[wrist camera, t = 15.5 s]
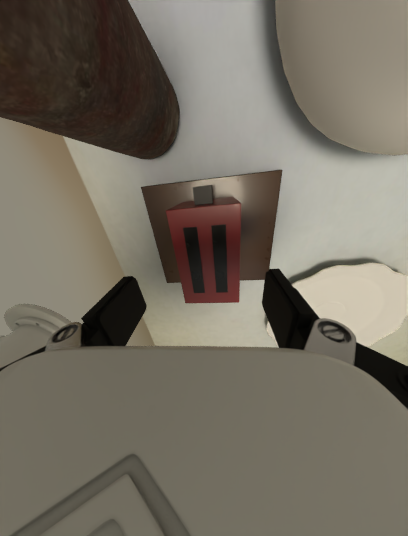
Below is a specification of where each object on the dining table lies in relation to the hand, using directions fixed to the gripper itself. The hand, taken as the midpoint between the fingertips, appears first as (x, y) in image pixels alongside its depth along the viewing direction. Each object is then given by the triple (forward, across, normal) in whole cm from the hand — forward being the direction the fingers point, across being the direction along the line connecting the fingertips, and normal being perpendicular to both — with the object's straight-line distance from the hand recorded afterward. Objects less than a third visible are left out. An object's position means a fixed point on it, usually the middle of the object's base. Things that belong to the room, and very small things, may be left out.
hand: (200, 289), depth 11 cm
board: (+12, -1, 0) cm, 12 cm away
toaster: (+11, 0, 0) cm, 11 cm away
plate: (+12, -20, +15) cm, 27 cm away
